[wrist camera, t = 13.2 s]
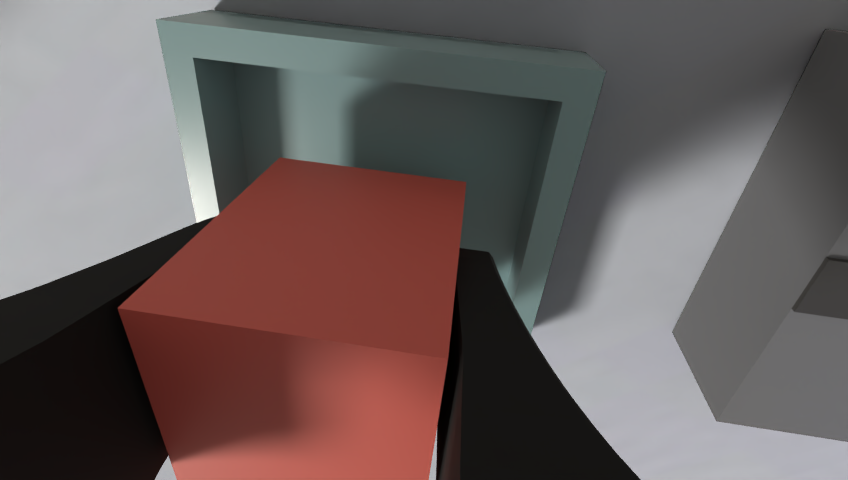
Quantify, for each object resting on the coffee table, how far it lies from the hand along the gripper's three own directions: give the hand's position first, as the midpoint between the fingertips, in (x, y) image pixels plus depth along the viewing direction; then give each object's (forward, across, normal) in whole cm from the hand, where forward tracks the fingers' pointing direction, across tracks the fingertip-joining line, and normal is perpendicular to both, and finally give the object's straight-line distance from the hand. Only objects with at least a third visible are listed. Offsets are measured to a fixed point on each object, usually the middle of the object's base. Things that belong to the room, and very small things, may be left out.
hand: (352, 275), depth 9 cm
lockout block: (+2, 0, 0) cm, 2 cm away
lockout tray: (+3, 0, 0) cm, 3 cm away
